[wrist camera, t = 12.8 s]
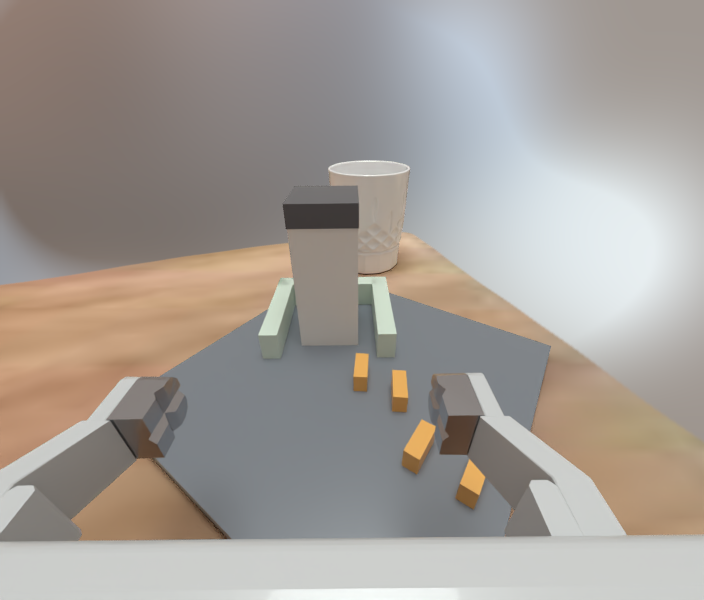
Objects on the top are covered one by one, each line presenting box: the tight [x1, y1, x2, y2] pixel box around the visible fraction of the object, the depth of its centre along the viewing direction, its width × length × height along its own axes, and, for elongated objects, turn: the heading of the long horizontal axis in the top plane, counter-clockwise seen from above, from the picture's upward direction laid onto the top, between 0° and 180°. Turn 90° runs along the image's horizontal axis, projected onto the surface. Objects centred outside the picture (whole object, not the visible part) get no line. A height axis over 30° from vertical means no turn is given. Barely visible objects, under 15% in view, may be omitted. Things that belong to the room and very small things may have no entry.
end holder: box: [258, 277, 397, 359], centre depth 24 cm, size 8×9×2 cm
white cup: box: [328, 161, 410, 274], centre depth 33 cm, size 8×8×10 cm
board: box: [153, 293, 551, 539], centre depth 20 cm, size 20×20×2 cm
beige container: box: [283, 186, 359, 346], centre depth 21 cm, size 4×4×10 cm
